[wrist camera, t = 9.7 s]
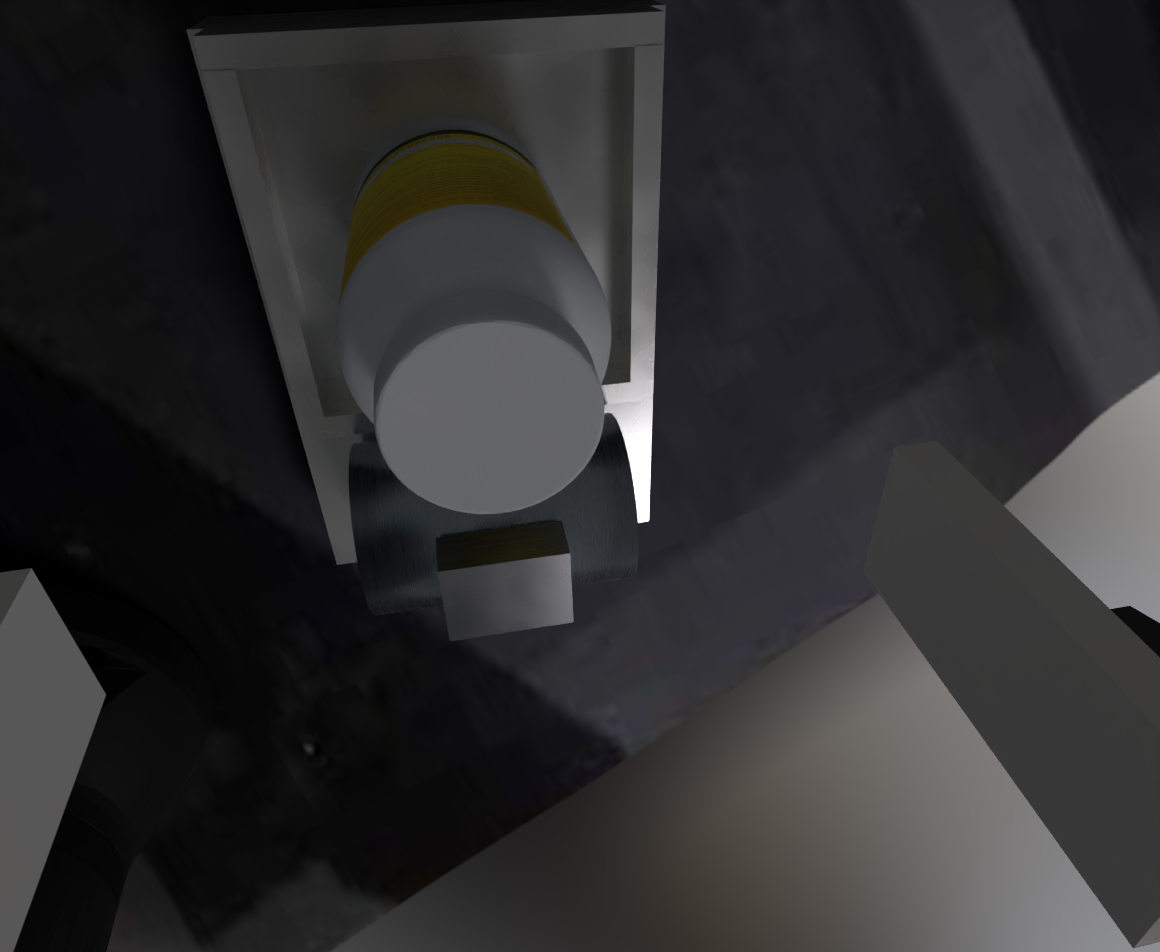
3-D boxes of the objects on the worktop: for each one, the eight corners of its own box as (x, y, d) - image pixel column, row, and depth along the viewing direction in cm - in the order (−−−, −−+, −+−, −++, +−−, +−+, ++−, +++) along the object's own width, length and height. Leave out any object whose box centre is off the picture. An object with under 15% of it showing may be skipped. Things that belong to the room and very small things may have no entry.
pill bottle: (320, 150, 23) (265, 316, 14) (535, 100, 23) (623, 229, 14) (391, 346, 27) (385, 578, 18) (575, 301, 27) (664, 505, 18)
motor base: (208, 16, 23) (100, 79, 15) (640, -5, 25) (759, 40, 17) (341, 518, 34) (322, 714, 26) (632, 480, 36) (701, 652, 28)
